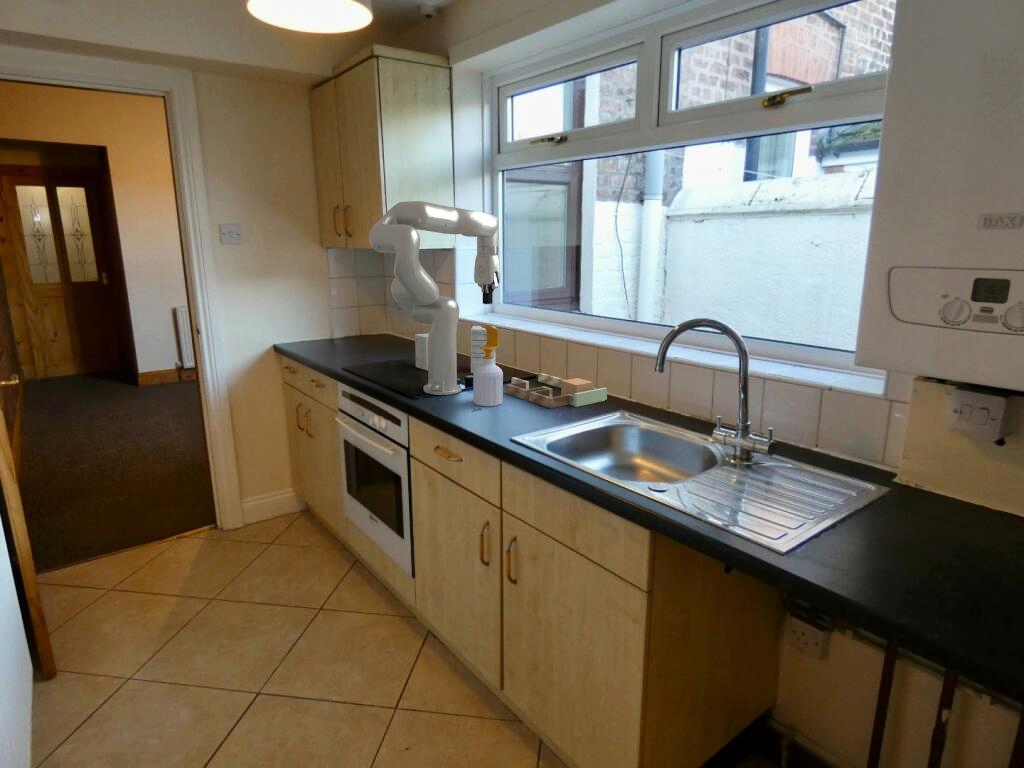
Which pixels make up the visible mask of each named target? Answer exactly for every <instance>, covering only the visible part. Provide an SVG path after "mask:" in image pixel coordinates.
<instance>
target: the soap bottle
mask: <svg viewBox="0 0 1024 768" xmlns="http://www.w3.org/2000/svg"><path fill="white" fill-rule="evenodd" d="M480 326H481V327H482V328H485V329H486V332H487V343H486V346H483V347H480V349H483V350H484V352H486V356H483V363H482V364H481V365H480V366H478V367H477V368H476V369H475V370H474V373H472V374H473V380H472V382H473V389H472V390H473V392H472V393H473V403H474V404H475V405H477V406H479V407H488V408H489V407H496V406H500V405H501V404H503V401H504V400H503V399H504V398H503V397H504V396H503V395H504V394H503V392H504V387H503V386H504V385H503V382H504V372H503V370H502V368H500V367H499V365H496V363H495V364H494V358H493V356H491V352H493V349H498V347H499V336H500V335H499V329H498V328H497V327H496V328H494V327H491V326H490V325H480Z"/></svg>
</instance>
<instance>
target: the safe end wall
mask: <svg viewBox="0 0 1024 768" xmlns="http://www.w3.org/2000/svg"><path fill="white" fill-rule="evenodd" d="M607 399H608V387H601V388H597V389H594V390H589V391H584V392H579V393H574V406H573V407H575V408H577V407H581V406H586V405H592V404H595V403H601V402H605V400H606V401H607Z"/></svg>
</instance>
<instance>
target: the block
mask: <svg viewBox="0 0 1024 768" xmlns="http://www.w3.org/2000/svg"><path fill="white" fill-rule="evenodd" d="M593 385H594V384H593V381H590V380H588V379H582V378H579V377H576V378H575V377H574V378H570V379H565V380H564V381H562V388H560V389H561V390H560V392H561V393H560V396H561V395H566V394H571V395H574V393H579V392H584V391H589V390H592V387H593Z"/></svg>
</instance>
